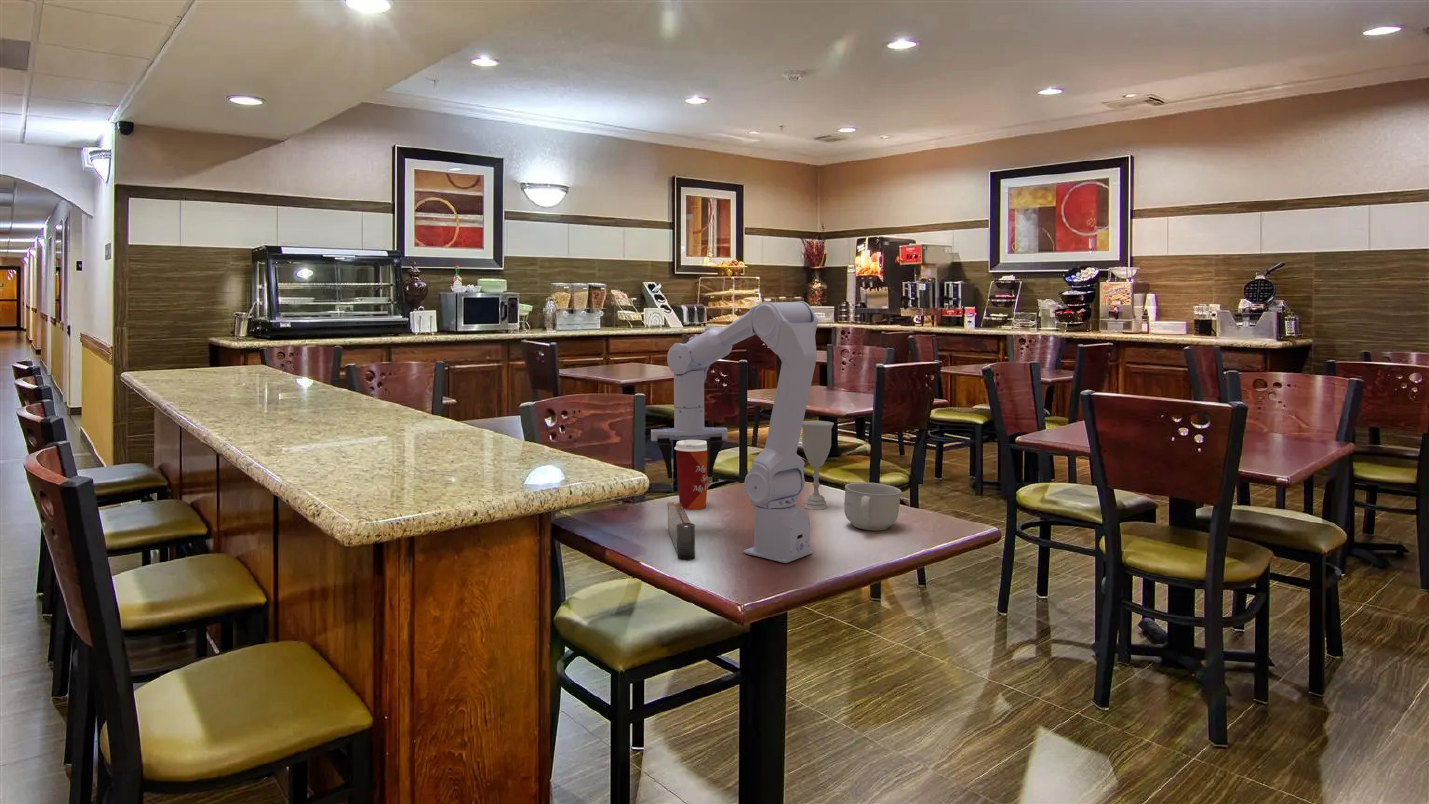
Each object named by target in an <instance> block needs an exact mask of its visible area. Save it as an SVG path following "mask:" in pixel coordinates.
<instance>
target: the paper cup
mask: <svg viewBox="0 0 1429 804" xmlns="http://www.w3.org/2000/svg"><path fill="white" fill-rule="evenodd" d="M674 450H675V454H676V455H675V456H676V457H675V458H676V473H677V485H678V499H679V504H682V506H683V508H684V510H685V511H686V510H687V511H689V510H690V511H692V510H693V511H695V510H696V511H697V510H703V509H705V508H706V507H707V493H708V478H709V477H708V476H707V440H705V439H685V440H677V441H676V444H675V447H674Z"/></svg>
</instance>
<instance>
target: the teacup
mask: <svg viewBox="0 0 1429 804" xmlns="http://www.w3.org/2000/svg"><path fill="white" fill-rule="evenodd" d="M901 495H902V490H901V489H900V488H899V487H895V486H893V485H889V484H884V483H879V482H878V483H876V482H868V481H867V482H851V483H846V484H845V485H844V503H843V504H844V515H845V518H846V519H847V520H848V521H849V522H850V523H851V525H853V527H855V528H856V529H861V530H865V531H873V532H874V531H878V532H879V531H885V530H887V529H889V527H891V526H892V525H894V524H895V523H896V521H897V520H898V517H899V511H900V502H901Z"/></svg>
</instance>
